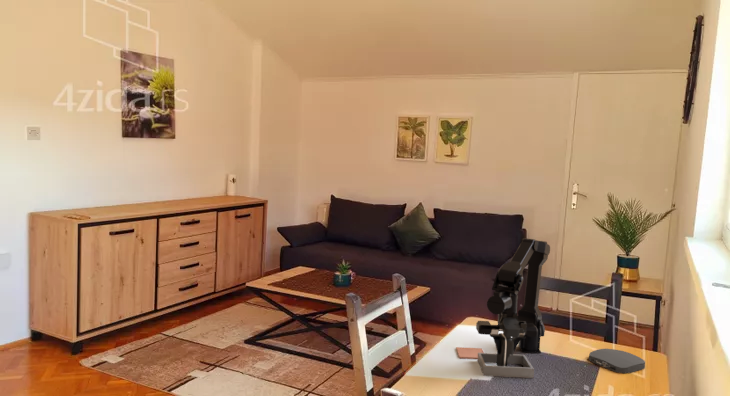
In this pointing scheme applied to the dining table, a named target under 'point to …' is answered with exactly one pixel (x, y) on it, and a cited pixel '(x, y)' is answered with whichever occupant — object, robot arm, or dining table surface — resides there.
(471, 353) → the mat
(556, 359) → the dining table surface
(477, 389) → the dining table surface
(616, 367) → the media streaming box
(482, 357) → the bin
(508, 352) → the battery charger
